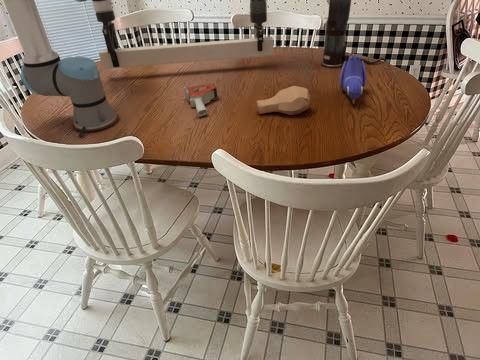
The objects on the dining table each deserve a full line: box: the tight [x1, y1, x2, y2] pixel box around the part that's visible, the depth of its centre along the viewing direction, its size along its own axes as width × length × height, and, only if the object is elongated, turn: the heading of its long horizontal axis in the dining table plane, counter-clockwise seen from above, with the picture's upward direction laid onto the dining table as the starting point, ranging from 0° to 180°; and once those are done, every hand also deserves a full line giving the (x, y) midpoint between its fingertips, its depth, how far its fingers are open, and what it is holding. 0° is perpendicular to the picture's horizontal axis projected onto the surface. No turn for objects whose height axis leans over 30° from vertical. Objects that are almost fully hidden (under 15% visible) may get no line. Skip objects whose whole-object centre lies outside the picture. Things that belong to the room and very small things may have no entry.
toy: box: [339, 55, 367, 105], centre depth 136 cm, size 10×17×25 cm
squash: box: [255, 85, 312, 116], centre depth 130 cm, size 11×20×9 cm, turn 92°
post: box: [98, 36, 274, 70], centre depth 166 cm, size 80×5×7 cm, turn 95°
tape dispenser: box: [183, 82, 218, 117], centre depth 140 cm, size 18×5×20 cm
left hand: (117, 64), depth 166 cm, fingers closed on post, 5 cm apart
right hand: (259, 49), depth 168 cm, fingers closed on post, 5 cm apart
